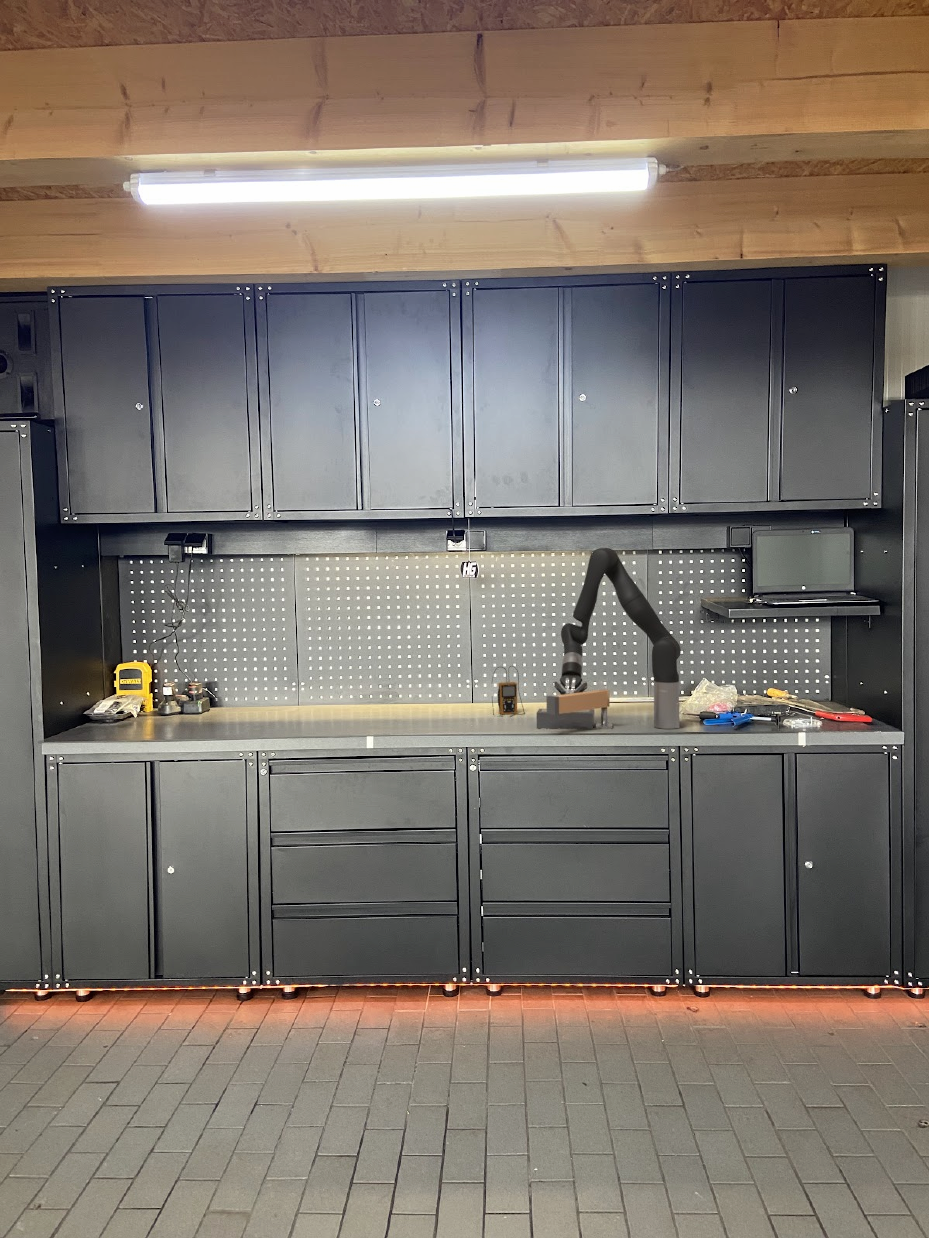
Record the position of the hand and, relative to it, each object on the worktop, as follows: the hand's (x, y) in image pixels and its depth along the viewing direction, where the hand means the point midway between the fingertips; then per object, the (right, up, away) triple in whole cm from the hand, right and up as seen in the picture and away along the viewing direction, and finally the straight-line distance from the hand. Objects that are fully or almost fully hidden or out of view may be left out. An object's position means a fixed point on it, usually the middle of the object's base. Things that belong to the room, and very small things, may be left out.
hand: (569, 703), depth 339 cm
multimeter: (-20, -9, +39) cm, 45 cm away
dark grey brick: (0, -10, +10) cm, 14 cm away
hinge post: (+14, -9, +7) cm, 18 cm away
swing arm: (+4, -2, -1) cm, 4 cm away
